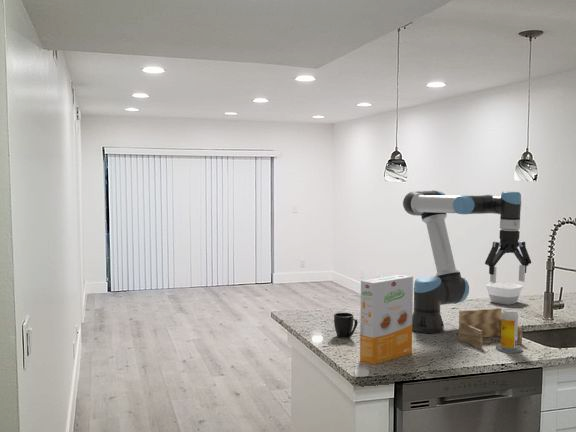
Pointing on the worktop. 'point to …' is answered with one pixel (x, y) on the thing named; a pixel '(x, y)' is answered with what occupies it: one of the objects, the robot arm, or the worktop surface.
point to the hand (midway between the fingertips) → (507, 281)
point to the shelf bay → (481, 325)
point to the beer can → (509, 329)
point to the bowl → (504, 292)
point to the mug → (344, 324)
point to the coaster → (508, 350)
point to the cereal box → (386, 318)
